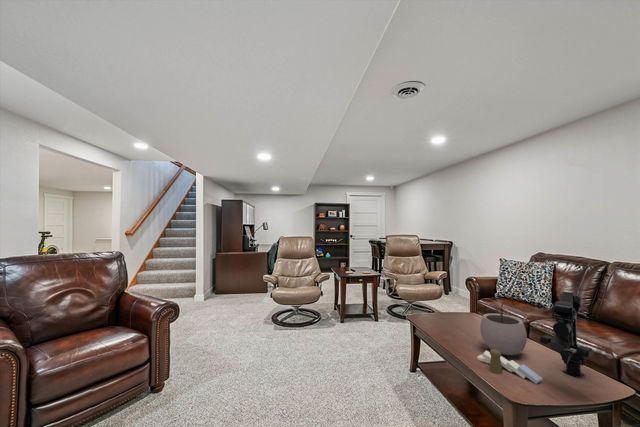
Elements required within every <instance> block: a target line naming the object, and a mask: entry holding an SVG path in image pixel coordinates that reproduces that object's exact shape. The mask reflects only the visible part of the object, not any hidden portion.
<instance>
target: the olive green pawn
mask: <svg viewBox="0 0 640 427" xmlns="http://www.w3.org/2000/svg"><path fill="white" fill-rule="evenodd" d="M489 352H490V355H491V360H490V364H489V368H488V369H489V371H490V372H491V373H493V374H498V375H502V374H503V366H502V365H501V360H500V357H501V356H502V354H501V352H500V351H498V350H496V349H490V351H489Z"/></svg>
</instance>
